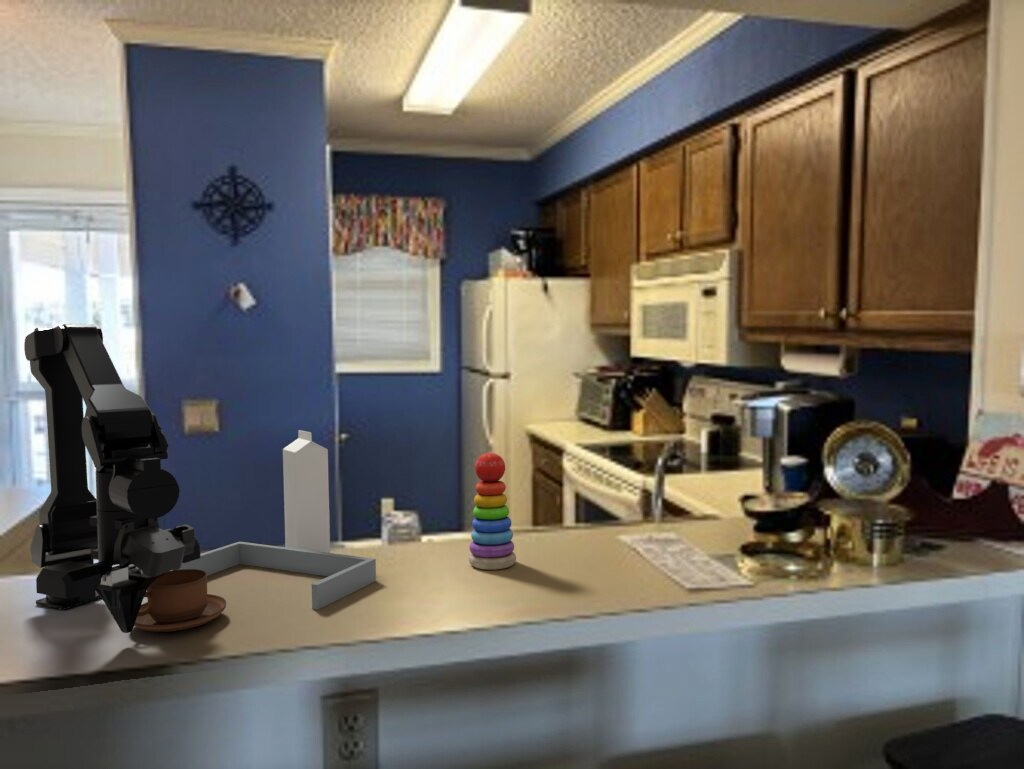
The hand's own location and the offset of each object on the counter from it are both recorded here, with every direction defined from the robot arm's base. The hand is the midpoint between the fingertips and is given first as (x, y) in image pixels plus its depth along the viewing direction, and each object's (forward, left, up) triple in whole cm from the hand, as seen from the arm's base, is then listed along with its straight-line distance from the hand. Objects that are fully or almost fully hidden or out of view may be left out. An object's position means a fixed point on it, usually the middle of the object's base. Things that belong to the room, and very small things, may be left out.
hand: (127, 632), depth 92 cm
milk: (-6, +41, -2) cm, 42 cm away
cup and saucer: (0, +8, -2) cm, 8 cm away
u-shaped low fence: (0, +25, -2) cm, 25 cm away
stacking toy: (+27, +48, -2) cm, 55 cm away
